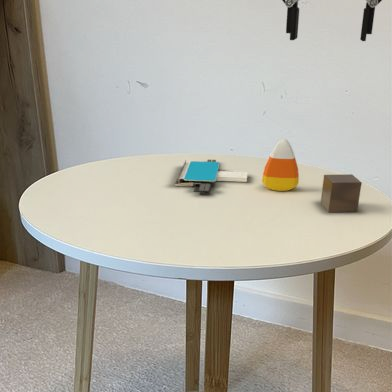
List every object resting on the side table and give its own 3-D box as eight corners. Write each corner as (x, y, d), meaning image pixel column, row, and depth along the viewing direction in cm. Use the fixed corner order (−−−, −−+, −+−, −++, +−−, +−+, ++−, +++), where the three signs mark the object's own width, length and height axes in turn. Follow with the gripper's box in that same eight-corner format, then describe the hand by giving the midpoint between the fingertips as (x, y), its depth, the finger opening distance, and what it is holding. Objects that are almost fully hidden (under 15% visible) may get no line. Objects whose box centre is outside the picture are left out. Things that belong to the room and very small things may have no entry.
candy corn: (297, 187, 100) (303, 137, 95) (297, 192, 97) (303, 141, 93) (261, 185, 100) (265, 135, 96) (260, 190, 98) (264, 139, 94)
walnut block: (348, 202, 93) (352, 174, 91) (357, 211, 89) (361, 182, 87) (320, 203, 93) (323, 174, 90) (328, 212, 89) (332, 182, 86)
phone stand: (245, 196, 95) (246, 186, 94) (171, 193, 96) (171, 183, 95) (247, 164, 112) (248, 155, 111) (184, 162, 113) (184, 153, 112)
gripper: (269, -115, 74) (262, 41, 83) (416, -121, 70) (392, 42, 79) (278, -106, 80) (270, 37, 89) (413, -112, 76) (391, 39, 85)
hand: (327, 40), depth 84 cm, fingers open, 9 cm apart
